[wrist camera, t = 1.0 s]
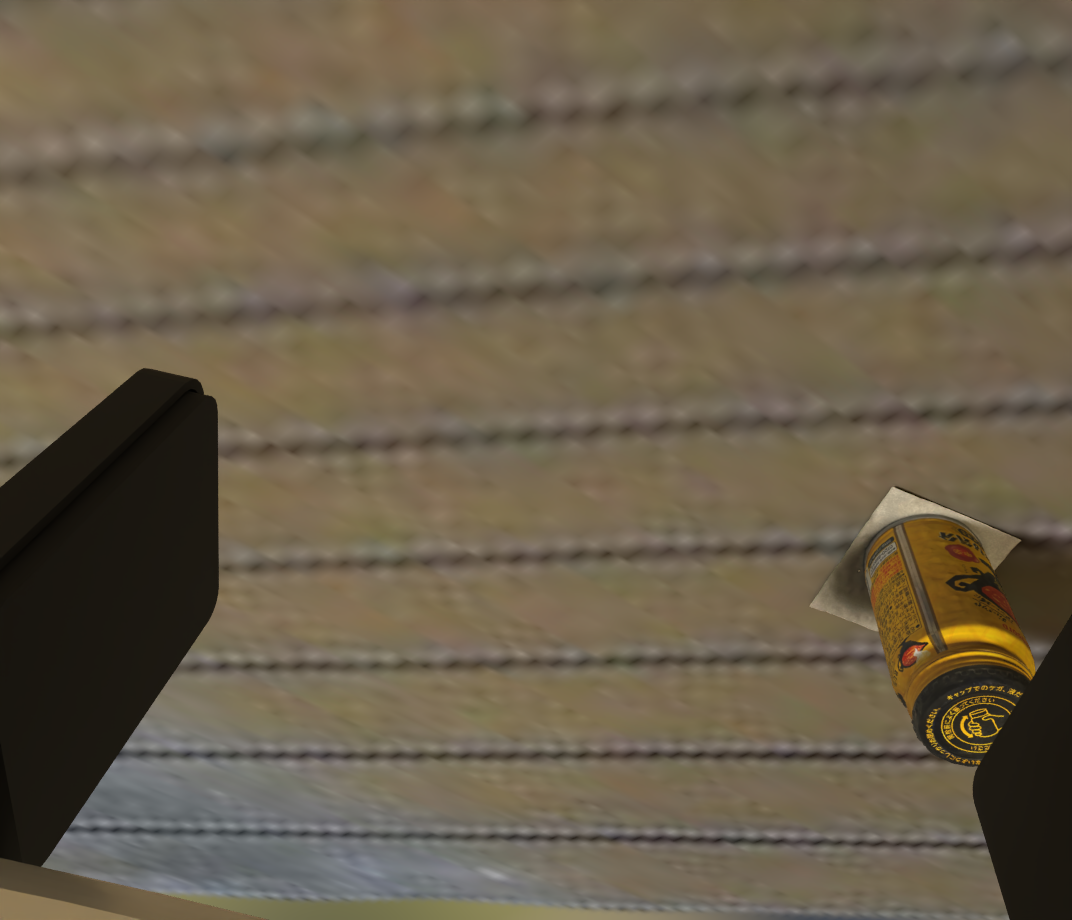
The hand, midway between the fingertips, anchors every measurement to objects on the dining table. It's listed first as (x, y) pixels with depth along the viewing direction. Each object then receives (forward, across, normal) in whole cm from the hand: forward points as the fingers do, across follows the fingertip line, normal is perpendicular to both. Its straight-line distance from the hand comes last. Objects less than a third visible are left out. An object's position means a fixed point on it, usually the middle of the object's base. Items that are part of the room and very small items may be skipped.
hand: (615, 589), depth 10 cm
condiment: (+35, -18, +22) cm, 45 cm away
